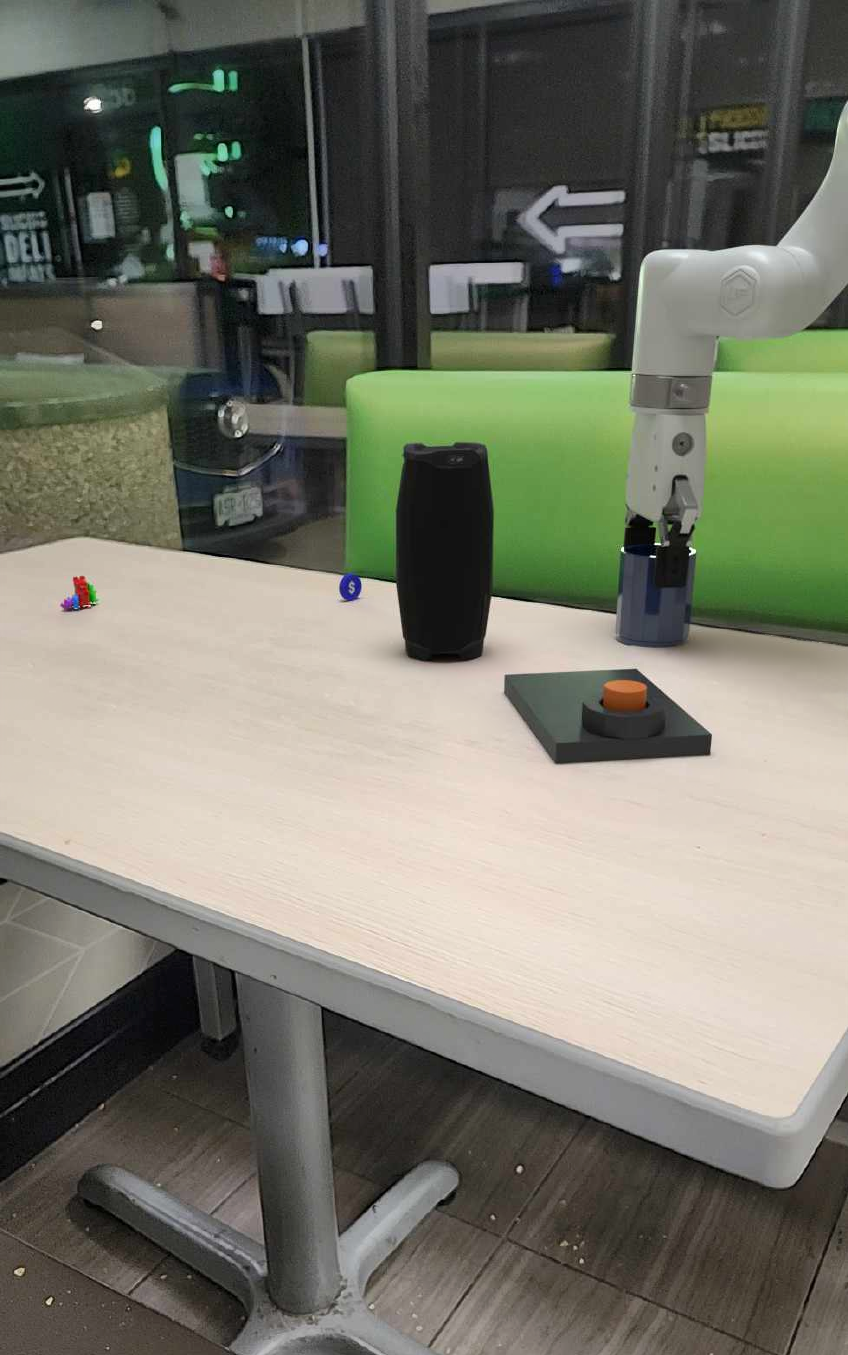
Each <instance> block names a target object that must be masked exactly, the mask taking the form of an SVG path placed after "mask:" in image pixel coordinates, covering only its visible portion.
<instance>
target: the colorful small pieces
mask: <svg viewBox="0 0 848 1355" xmlns="http://www.w3.org/2000/svg"><path fill="white" fill-rule="evenodd" d="M72 583H73V588H74V594H72V595H71V596H72V597H71V596H68V597H66V598H64V599H63V602H61V603H60V607H61V608H62V609H63V610H64V611H66V610H67V609H68V610H70V609H71V608H72V609H73V610H74V609H75V608H77V609H76V610H80V609H79V606H80V607H83V606H84V605H91V603H90V602H92V603H93V602H97V601H98V600H99V601H100V599H99V598H97V596H96V595H97V590H96V589H94V585H93V584H92V583H90V582H88V581H87V580H86V577H85V575H80V576H79V577H78V576H73V577H72ZM72 606H73V607H72ZM91 606H92V605H91ZM70 607H71V608H70ZM69 608H70V609H69ZM68 610H67V611H68Z"/></svg>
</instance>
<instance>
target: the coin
mask: <svg viewBox="0 0 848 1355" xmlns="http://www.w3.org/2000/svg"><path fill="white" fill-rule="evenodd" d="M338 586H339V587H338V589H339V590H338V591H339V594H340V596H341V598H342V599H344V600H346V601H354V600H353V599H355V600H356V599H358V598H359V596H360V594H361V592H362V589H363V588H362V586H363V585H362V580H361V578H360V577H359V575H357V574H355V573H354V574H353V573H346V574H345V575H343V576H342V578H341V579H340V582H339V585H338Z"/></svg>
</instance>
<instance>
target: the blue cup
mask: <svg viewBox="0 0 848 1355" xmlns="http://www.w3.org/2000/svg"><path fill="white" fill-rule="evenodd" d="M656 545H661V544H660V543H655V544H637V545H630V546H626V547H623V546H622V547H621V549H620V556H619V557H620V558H619V570H618V585H617V586H618V587H617V602H616V618H615V630H614V631H615V639H616V641H618V642H619V643H621V644H624V645H628V646H634V647H641V648H656V649H657V648H659V649H660V648H661V649H662V648H674V647H679V646H684V645H686V644H687V643H688V642H689V639H690V628H691V618H692V606H693V599H694V598H693V597H694V586H695V575H696V563H697V554H698V550H696V549H694V548H692V547H690V552H689V561H688V570H687V580H686V585H685V586H684V587H683V588H656V587H654V586H653V575H654V564H655V554H656Z"/></svg>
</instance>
